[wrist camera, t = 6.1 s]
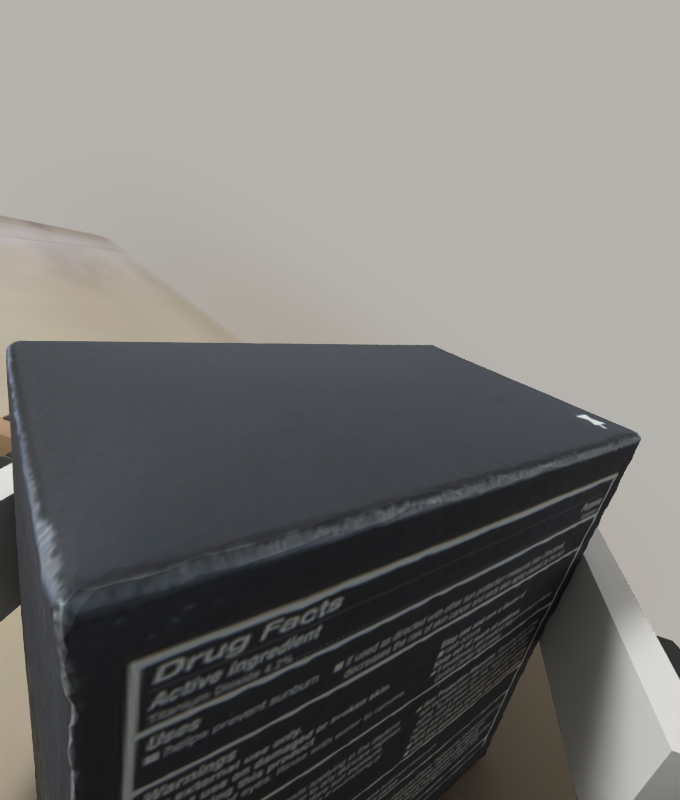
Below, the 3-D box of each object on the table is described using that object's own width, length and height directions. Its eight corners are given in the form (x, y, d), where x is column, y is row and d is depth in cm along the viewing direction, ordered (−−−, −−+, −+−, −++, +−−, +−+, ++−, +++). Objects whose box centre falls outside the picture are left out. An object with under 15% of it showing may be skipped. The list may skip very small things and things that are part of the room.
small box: (355, 593, 18) (433, 335, 14) (490, 756, 13) (665, 438, 9) (25, 732, 11) (-2, 316, 7) (63, 1155, 6) (48, 637, 3)
